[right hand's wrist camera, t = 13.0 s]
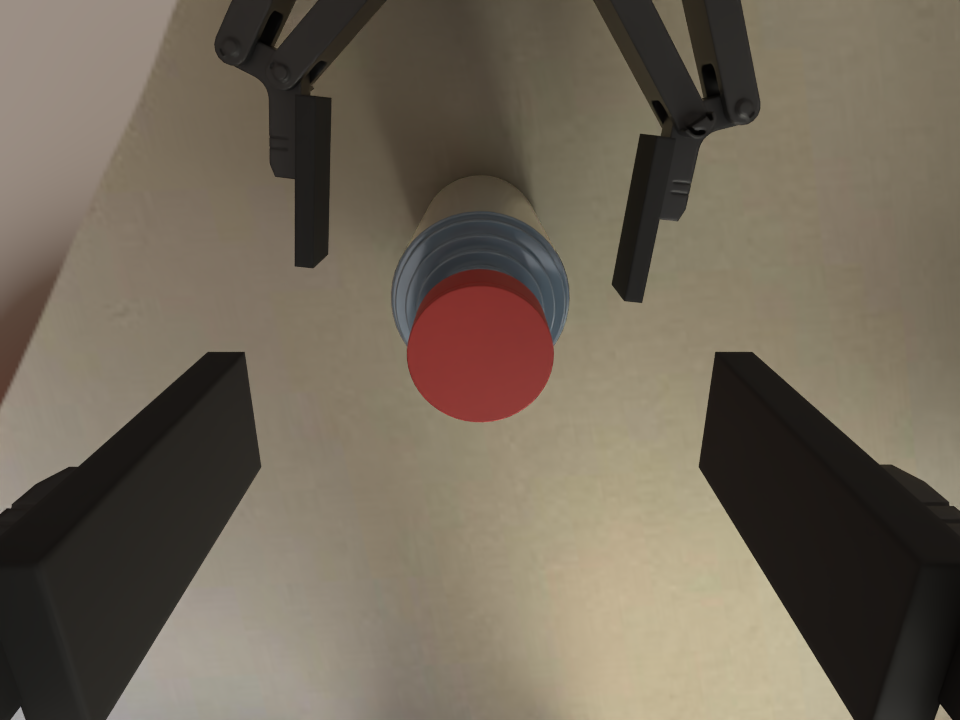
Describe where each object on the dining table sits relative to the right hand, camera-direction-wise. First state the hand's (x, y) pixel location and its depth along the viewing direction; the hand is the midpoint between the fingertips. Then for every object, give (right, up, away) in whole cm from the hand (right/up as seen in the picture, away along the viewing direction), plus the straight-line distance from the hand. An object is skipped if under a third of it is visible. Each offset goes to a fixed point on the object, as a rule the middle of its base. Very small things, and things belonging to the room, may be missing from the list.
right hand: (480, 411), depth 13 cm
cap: (0, +1, +3) cm, 4 cm away
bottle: (0, +8, +19) cm, 21 cm away
